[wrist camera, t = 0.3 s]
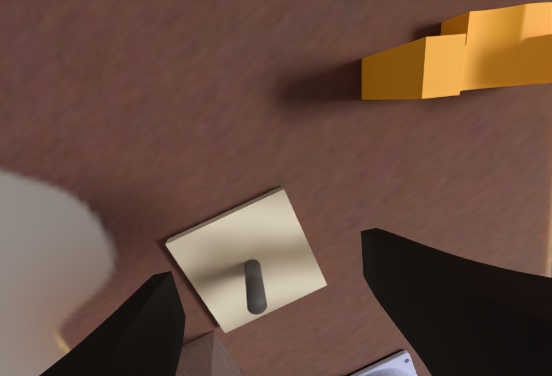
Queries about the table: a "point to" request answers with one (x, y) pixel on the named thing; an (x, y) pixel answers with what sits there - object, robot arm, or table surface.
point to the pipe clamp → (466, 56)
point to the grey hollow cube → (207, 358)
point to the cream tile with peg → (248, 260)
